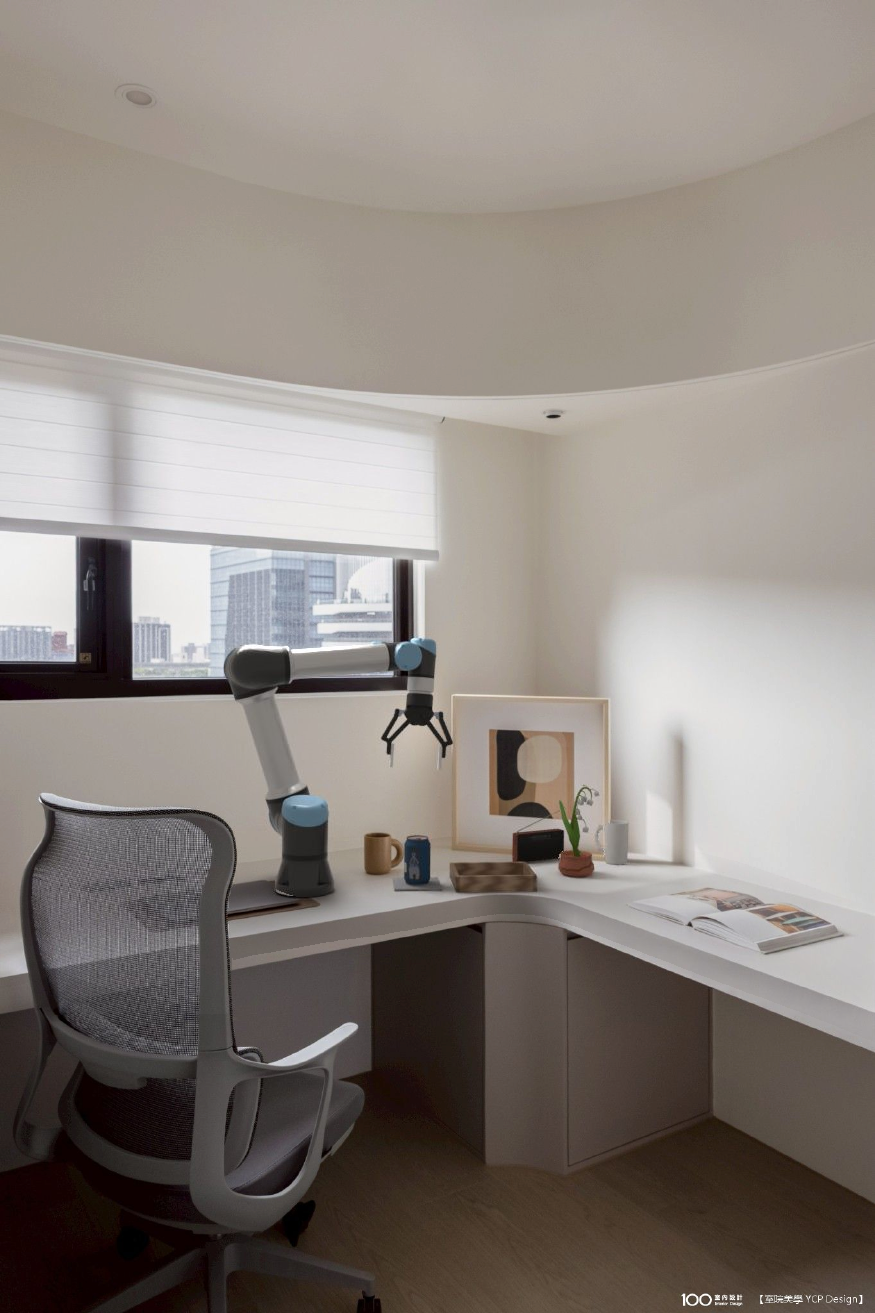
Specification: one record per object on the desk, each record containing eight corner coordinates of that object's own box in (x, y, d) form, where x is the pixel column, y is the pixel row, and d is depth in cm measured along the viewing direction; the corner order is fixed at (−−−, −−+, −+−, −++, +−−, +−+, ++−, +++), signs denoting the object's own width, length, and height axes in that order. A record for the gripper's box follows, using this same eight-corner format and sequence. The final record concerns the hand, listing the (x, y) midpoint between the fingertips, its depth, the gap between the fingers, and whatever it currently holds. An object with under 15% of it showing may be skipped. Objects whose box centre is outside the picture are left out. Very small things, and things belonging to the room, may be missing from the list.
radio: (517, 864, 265) (518, 812, 265) (512, 861, 267) (512, 811, 267) (570, 858, 273) (570, 808, 273) (564, 856, 276) (564, 806, 276)
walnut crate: (455, 892, 232) (455, 876, 232) (449, 877, 248) (449, 862, 248) (536, 891, 234) (536, 875, 234) (525, 876, 250) (525, 861, 250)
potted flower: (589, 868, 260) (590, 781, 260) (607, 876, 250) (607, 785, 250) (551, 871, 256) (552, 782, 256) (567, 879, 246) (568, 787, 246)
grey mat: (394, 891, 233) (394, 889, 233) (392, 879, 245) (392, 877, 245) (441, 890, 234) (441, 888, 234) (437, 879, 246) (437, 877, 246)
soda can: (425, 878, 244) (425, 834, 244) (433, 885, 237) (434, 839, 237) (400, 880, 241) (401, 835, 241) (408, 887, 235) (408, 840, 235)
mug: (631, 861, 269) (631, 821, 269) (624, 866, 263) (624, 824, 263) (598, 857, 273) (598, 818, 273) (590, 862, 268) (591, 821, 268)
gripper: (461, 696, 262) (457, 770, 261) (375, 690, 260) (370, 764, 258) (465, 695, 255) (460, 771, 253) (376, 689, 252) (371, 766, 251)
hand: (415, 768), depth 256 cm, fingers open, 13 cm apart
